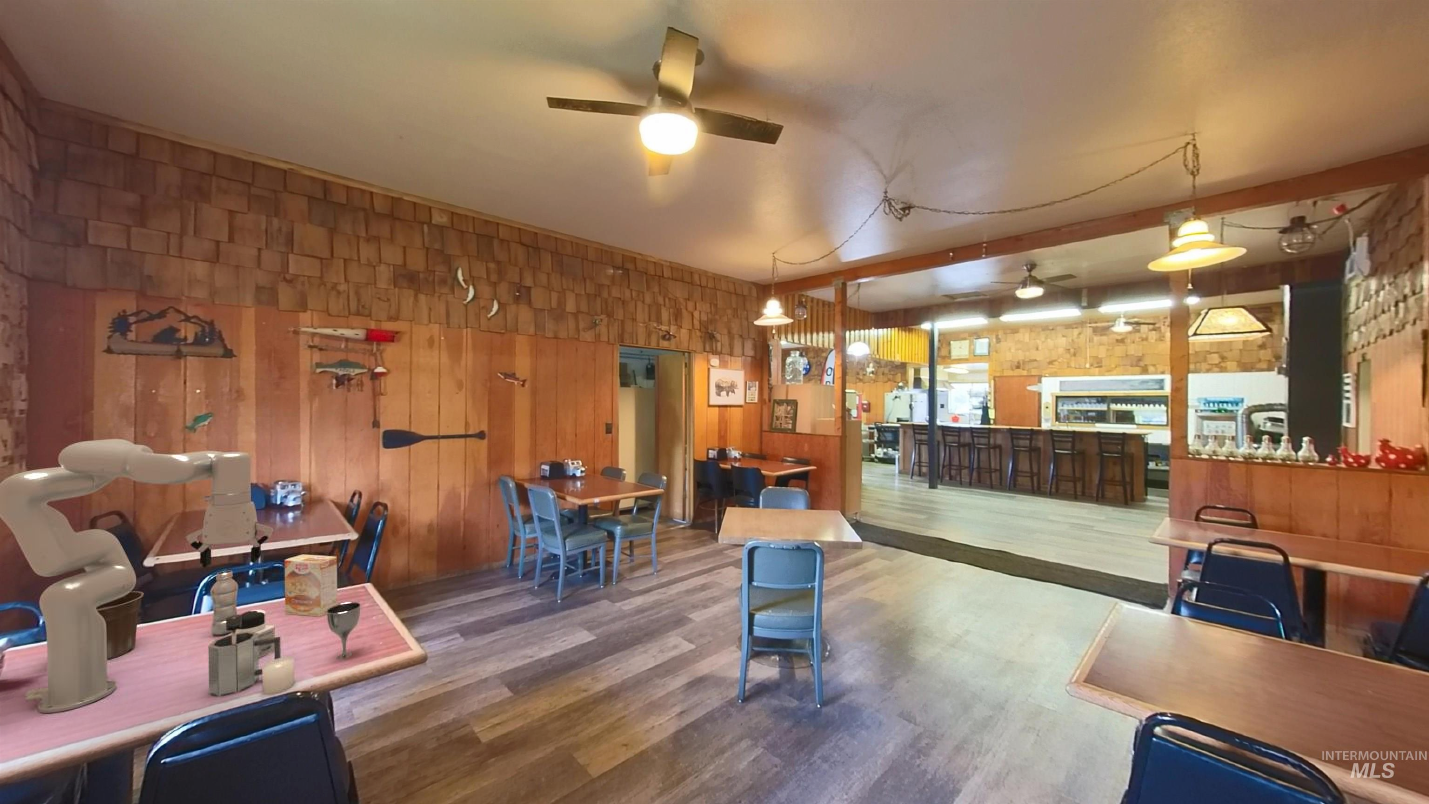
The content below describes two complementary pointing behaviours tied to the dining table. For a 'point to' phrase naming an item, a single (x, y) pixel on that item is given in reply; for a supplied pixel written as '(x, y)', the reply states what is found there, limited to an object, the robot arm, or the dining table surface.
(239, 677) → the press carafe
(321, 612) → the coffeecake box
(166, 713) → the dining table surface
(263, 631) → the container
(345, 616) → the wine glass
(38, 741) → the dining table surface
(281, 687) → the pillar candle
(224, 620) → the plastic bottle
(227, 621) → the plunger
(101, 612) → the plant pot
